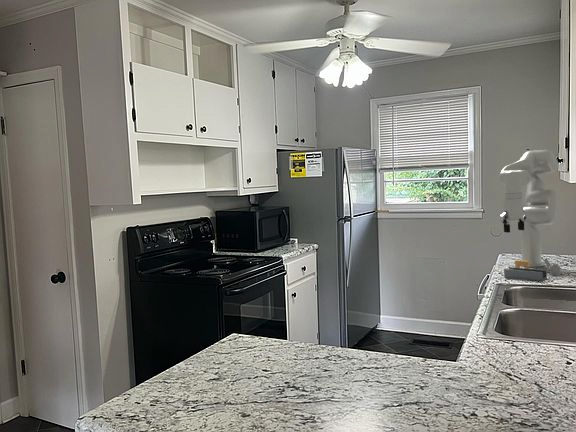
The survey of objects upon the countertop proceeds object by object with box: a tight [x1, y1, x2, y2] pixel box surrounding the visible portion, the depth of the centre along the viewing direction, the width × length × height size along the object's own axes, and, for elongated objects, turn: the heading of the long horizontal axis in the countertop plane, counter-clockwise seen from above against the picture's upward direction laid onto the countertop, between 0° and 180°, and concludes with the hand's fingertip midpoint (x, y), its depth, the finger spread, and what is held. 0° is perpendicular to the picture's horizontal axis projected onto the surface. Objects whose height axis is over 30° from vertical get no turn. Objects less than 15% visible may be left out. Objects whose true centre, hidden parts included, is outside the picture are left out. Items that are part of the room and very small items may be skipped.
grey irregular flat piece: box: [543, 257, 561, 276], centre depth 236 cm, size 7×2×8 cm, turn 55°
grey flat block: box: [503, 266, 548, 282], centre depth 232 cm, size 7×17×4 cm, turn 45°
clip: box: [514, 259, 530, 269], centre depth 244 cm, size 2×6×6 cm, turn 45°
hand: (514, 231), depth 238 cm, fingers open, 9 cm apart
